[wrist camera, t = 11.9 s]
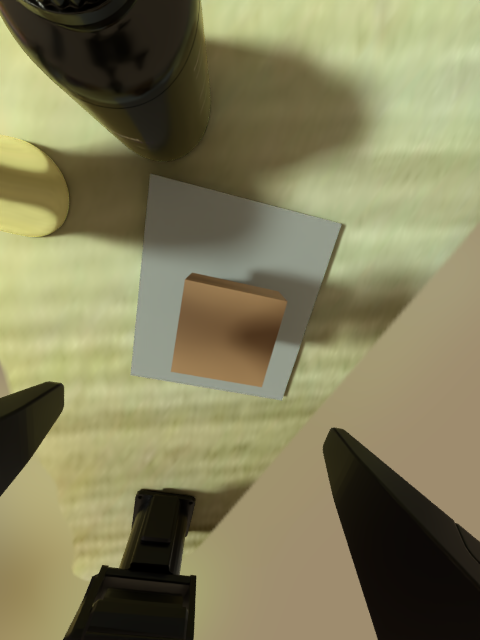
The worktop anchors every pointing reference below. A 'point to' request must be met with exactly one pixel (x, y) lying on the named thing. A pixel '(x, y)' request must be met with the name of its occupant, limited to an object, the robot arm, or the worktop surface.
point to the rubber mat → (225, 272)
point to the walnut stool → (226, 330)
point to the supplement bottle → (124, 65)
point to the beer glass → (30, 190)
